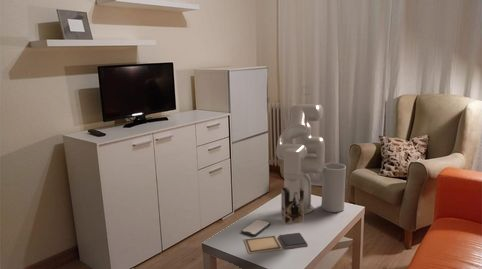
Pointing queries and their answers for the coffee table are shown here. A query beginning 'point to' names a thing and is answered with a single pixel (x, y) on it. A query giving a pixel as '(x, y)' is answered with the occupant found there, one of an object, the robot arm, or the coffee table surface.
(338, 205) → the cylinder vase
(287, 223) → the coffee box
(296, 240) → the pad
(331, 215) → the coffee table surface
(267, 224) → the phone case
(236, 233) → the coffee table surface
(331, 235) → the coffee table surface
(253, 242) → the marked card
